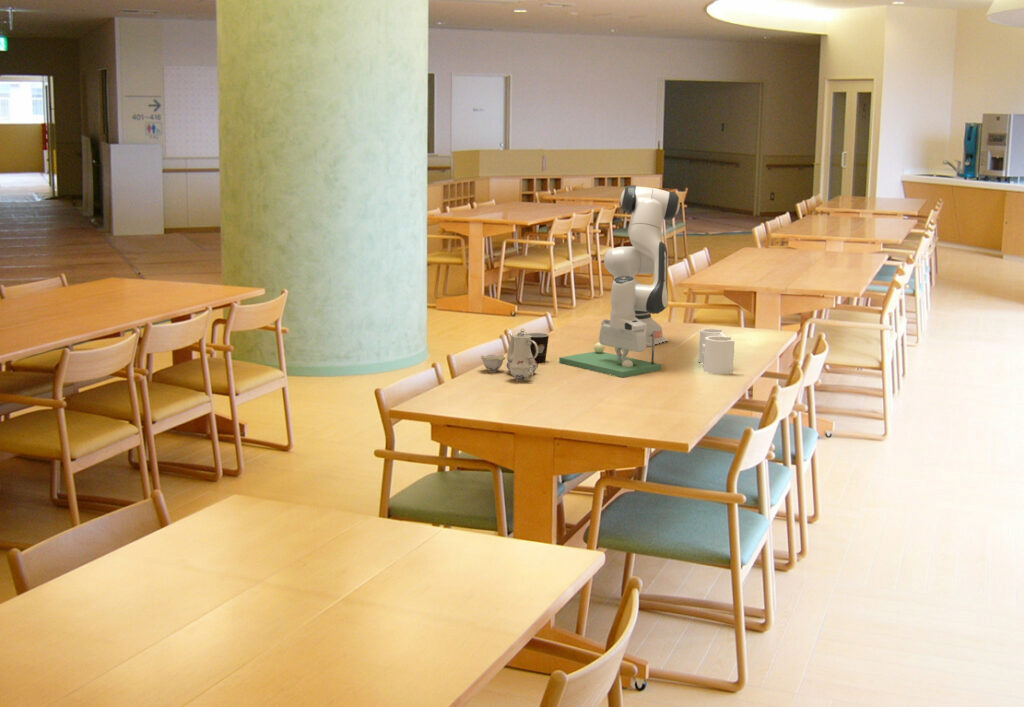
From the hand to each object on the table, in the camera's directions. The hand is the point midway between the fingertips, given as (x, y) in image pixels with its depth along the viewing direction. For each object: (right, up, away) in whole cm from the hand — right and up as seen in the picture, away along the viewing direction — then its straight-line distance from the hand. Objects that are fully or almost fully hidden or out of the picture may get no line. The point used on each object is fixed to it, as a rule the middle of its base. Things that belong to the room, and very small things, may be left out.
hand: (621, 360), depth 397 cm
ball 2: (+2, -2, -2) cm, 3 cm away
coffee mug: (-32, -1, +13) cm, 34 cm away
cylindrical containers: (+34, -3, +5) cm, 34 cm away
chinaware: (-38, -5, -9) cm, 40 cm away
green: (-4, -2, +5) cm, 7 cm away
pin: (+12, -1, 0) cm, 12 cm away
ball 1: (-7, +5, +19) cm, 20 cm away
